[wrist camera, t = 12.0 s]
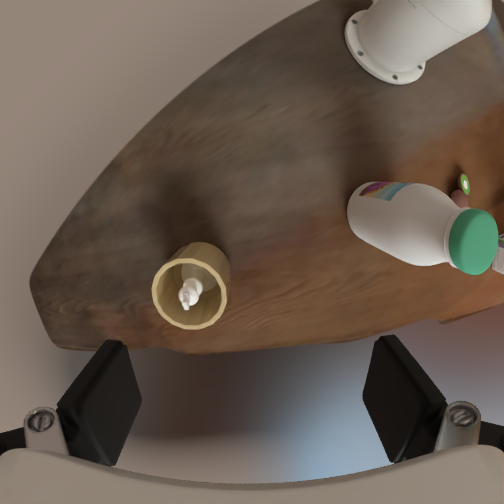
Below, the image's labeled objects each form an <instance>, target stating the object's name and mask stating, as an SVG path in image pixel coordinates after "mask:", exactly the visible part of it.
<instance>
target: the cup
mask: <svg viewBox="0 0 504 504" xmlns="http://www.w3.org/2000/svg"><path fill="white" fill-rule="evenodd" d="M183 263H193V264H195V265H198V266H201V267H204V268H205V269H206V270H208V271H209V272H210V273H211V274H212V275H213V276H214V277H215V278H216V280H217V282H218V283H217V284H216V286H215V287H214V288H212V289H211V290H209V291H205V292H202V293H201V294H200V295H199V299H198V301H197V302H196V303H195V304H194V305H189V310H184V307H183V306H182V302H181V301H180V299H179V291H180V289H181V288H183V283H184V282H183V280H182V277H181V267H182V264H183ZM230 280H231V269H230V264H229V261H228V259H227V257H226V256H225V255H224V253H223V252H222V251H221V250H220V249H218V248H217V247H215V246H214V245H212V244H209V243H205V242H194V243H190V244H187V245H185V246H184V247H182V248H180V249H179V250H178V251H177V252H176V253H175V254H174V255H173V256H172V257H171V258H170V259H169V260H168V261H167V262H166V263H165V264H164V265H163V266H162V267H161V269H160V270H159V271H158V272H157V274H156V275H155V277H154V281H153V285H152V296H153V302H154V304H155V306H156V308H157V309H158V311H159V313H160V314H161V316H163V317H164V318H165V319H166V320H167V321H169V322H170V323H171V324H173V325H175V326H178V327H181V328H183V329H201V328H204V327H207V326H209V325H212V324H213V323H214V322H215V321H216V320H217V319H218V318H219V317H220V316H221V315H222V314H223V311H224V308H225V306H226V303H227V298H228V292H229V286H230Z"/></svg>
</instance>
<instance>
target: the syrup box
mask: <svg viewBox="0 0 504 504" xmlns="http://www.w3.org/2000/svg"><path fill="white" fill-rule="evenodd" d="M492 269H493V270H495V271H498V272H500V273H502V274H504V234H501V235H499V236H498V248H497V252H496V255H495V257H494V259H493V261H492Z"/></svg>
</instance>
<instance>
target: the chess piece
mask: <svg viewBox="0 0 504 504" xmlns="http://www.w3.org/2000/svg"><path fill="white" fill-rule="evenodd" d="M181 277H182V280H183V282H184V283H183V288H181V289H180V291H179V299H180V301H181V302H182V306H183V307H184V310H189V305H194V304H195V303H196V302H197V301H198V299H199V295H200V294H201V293H202V292H205V291H209V290H211V289H212V288H214V287H215V286H216V284H217V283H218V282H217V280H216V278H215V277H214V276H213V275H212V274H211V273H210V272H209V271H208V270H206V269H205V268H204V267H201V266H198V265H195V264H193V263H183V264H182V267H181Z"/></svg>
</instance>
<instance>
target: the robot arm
mask: <svg viewBox="0 0 504 504" xmlns="http://www.w3.org/2000/svg"><path fill="white" fill-rule="evenodd" d="M372 2H373V4H372V5H371V6H370V8H369V9H368V10H362V11H359V12H357V13H355V14H353V15H352V16H351V17H350V19H349V20H348V22H347V24H346V26H345V34H344V35H345V41H346V44H347V46H348V49H349V50H350V52H351V54H352V56H353V57H354V58H355V60H356V61H357V62H358V63H359V64H360V65H361V66H362V67H363V68H364V69H365V70H366V71H368V72H369V73H370V74H372V75H373V76H375V77H377V78H378V79H380V80H383V81H385V82H388V83H392V84H399V85H403V84H408V83H411V82H413V81H415V80H416V79H418V78H419V77H420V76H421V75H422V73H423V71H424V68H425V61H426V60H428V59H430V58H432V57H433V56H435V55H437V54H438V53H440V52H442V51H444V50H445V49H447V48H449V47H451V46H452V45H454V44H456V43H458V42H460V41H461V40H463V39H465V38H467V37H469V36H471V35H473V34H475V33H476V32H478V31H480V30H481V29H483V28H484V27H485V26H486V25H487V24H488V22H489V20H490V17H491V13H492V0H372ZM502 2H503V3H504V0H502ZM445 400H446V399H445V397H444V396H443V394H442V393H441V392H440V390H439V389H438V388H437V387H436V385H435V384H434V383H433V381H432V380H431V379H430V378H429V376H428V375H427V374H426V372H425V371H424V370H423V369H422V367H421V366H420V365H419V364H418V362H417V361H416V360H415V359H414V357H413V356H412V355H411V354H410V352H409V351H408V350H407V349H406V348H405V346H404V345H403V344H402V343H401V342H400V340H399V339H398V338H397V337H396V336H395V335H387V336H381V337H380V338H379V339H378V340H377V341H375V343H374V348H373V352H372V357H371V362H370V366H369V370H368V374H367V378H366V382H365V386H364V390H363V401H364V404H365V406H366V408H367V410H368V413H369V415H370V417H371V419H372V422H373V424H374V426H375V429H376V431H377V433H378V435H379V438H380V440H381V442H382V444H383V447H384V449H385V452H386V454H387V456H388V459H389V461H390V462H391V463H393V462H394V464H392V465H388V466H384V467H380V468H376V469H372V470H367V471H363V472H358V473H354V474H348V475H342V476H336V477H330V478H324V479H317V480H307V481H298V482H285V483H269V484H268V483H267V484H226V483H208V482H196V481H185V480H177V479H169V478H162V477H156V476H150V475H145V474H140V473H135V472H131V471H126V470H122V469H117V468H113V467H111V466H114V465H116V463H117V460H118V458H119V455H120V453H121V450H122V448H123V445H124V443H125V441H126V438H127V436H128V434H129V431H130V429H131V427H132V424H133V422H134V420H135V417H136V415H137V413H138V410H139V408H140V406H141V401H142V398H141V394H140V391H139V388H138V385H137V381H136V378H135V375H134V371H133V368H132V364H131V361H130V357H129V353H128V350H127V347H126V345H123V343H122V342H121V341H118V340H106V341H105V342H104V343H103V345H102V346H101V347H100V348H99V350H98V351H97V352H96V353H95V355H94V356H93V357H92V358H91V360H90V361H89V362H88V364H87V365H86V366H85V367H84V369H83V370H82V371H81V373H80V374H79V375H78V377H77V378H76V379H75V381H74V382H73V383H72V384H71V386H70V387H69V388H68V390H67V391H66V392H65V394H64V395H63V396H62V398H61V399H60V401H59V402H58V403H57V406H58V408H57V409H56V411H55V410H54V409H52V408H50V407H38V408H35V409H33V410H32V411H30V412H29V413H28V414H27V415H26V417H25V419H24V427H22V428H18V429H15V430H11V431H7V432H3V433H0V504H504V426H501V425H496V424H492V423H488V422H484V421H481V414H480V412H479V410H478V408H476V406H474V405H473V404H471V403H469V402H466V401H456V402H453V403H451V404H449V405H448V404H447V402H446V401H445Z"/></svg>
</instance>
